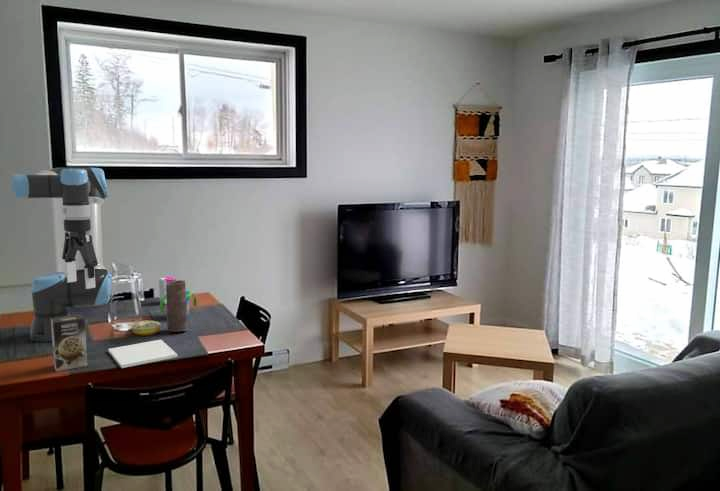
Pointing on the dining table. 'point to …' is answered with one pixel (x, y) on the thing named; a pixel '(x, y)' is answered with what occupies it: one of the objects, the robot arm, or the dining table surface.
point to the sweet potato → (176, 306)
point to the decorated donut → (146, 327)
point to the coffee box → (68, 342)
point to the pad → (142, 353)
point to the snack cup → (188, 297)
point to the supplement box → (164, 287)
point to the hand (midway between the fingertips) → (81, 284)
